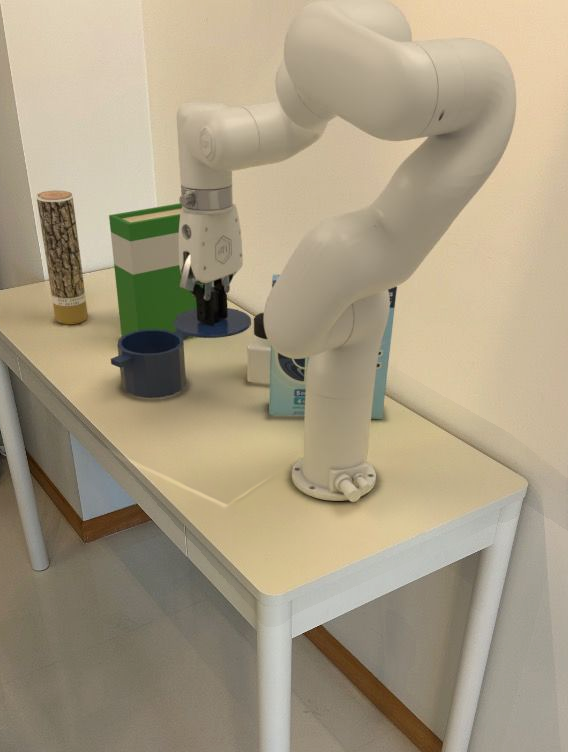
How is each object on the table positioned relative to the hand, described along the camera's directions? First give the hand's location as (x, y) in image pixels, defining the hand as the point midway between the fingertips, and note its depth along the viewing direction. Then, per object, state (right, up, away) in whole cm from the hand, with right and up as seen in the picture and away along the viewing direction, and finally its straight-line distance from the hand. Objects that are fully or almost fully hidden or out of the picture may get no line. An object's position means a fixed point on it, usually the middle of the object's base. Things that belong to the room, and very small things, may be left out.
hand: (212, 318), depth 128 cm
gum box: (+19, -14, +10) cm, 25 cm away
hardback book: (-12, +7, +36) cm, 39 cm away
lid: (0, -1, 0) cm, 1 cm away
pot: (-12, -8, +17) cm, 22 cm away
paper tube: (-33, +11, +42) cm, 55 cm away
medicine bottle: (+9, -5, +21) cm, 23 cm away
